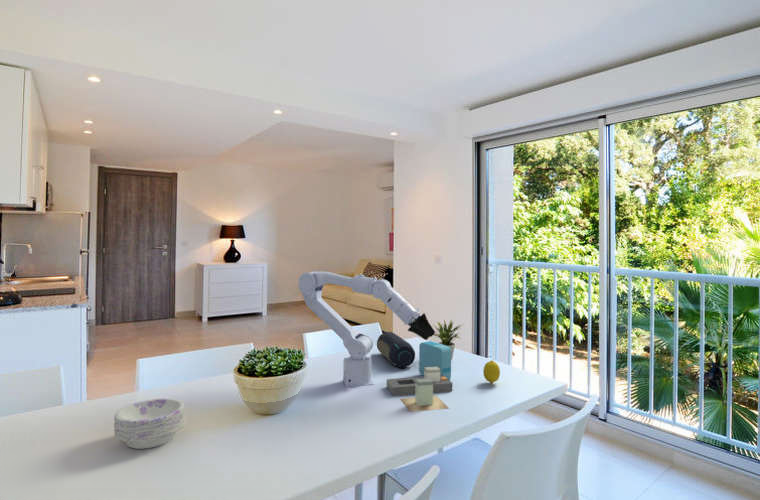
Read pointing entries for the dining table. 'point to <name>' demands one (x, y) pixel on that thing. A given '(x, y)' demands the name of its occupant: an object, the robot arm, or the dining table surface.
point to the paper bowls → (149, 422)
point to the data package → (435, 357)
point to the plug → (424, 392)
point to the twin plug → (432, 373)
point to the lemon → (491, 371)
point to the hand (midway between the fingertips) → (430, 336)
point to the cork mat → (414, 407)
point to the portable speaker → (396, 349)
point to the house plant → (447, 335)
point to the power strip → (408, 385)
